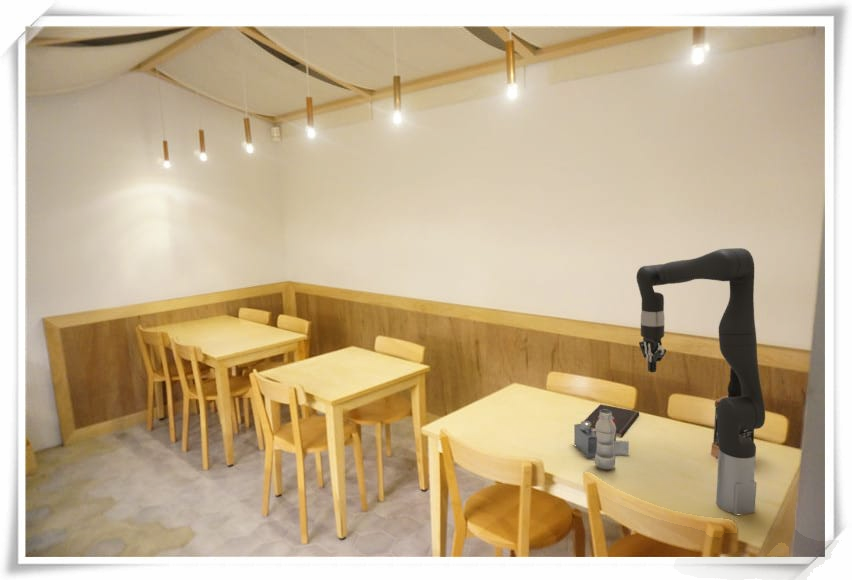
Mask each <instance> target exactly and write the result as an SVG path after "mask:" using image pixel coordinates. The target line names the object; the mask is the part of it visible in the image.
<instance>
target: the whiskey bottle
mask: <svg viewBox="0 0 852 580" xmlns="http://www.w3.org/2000/svg"><path fill="white" fill-rule="evenodd" d="M729 371H730V372H729V373H730V374H729V382H728V385H727V394H726V395H724V396H721V397H719V398H716V399H714V407H715V408H714V409H715V411H714V426H713V441H712V443H711V447H710V448H711V449H710V455H711V456H713V457H715V458H717V459H718V455H719V441H718V435H717V407H718V403H719V401H720V400H721V399H723V398H728V397H741V396H742V391H741V385H740V381H739V378H738V376H737V375H736V373H735V372H734V370H733V369H732V367H731V366H730V370H729ZM739 436H743V437H745V438H748V439H750V440H751V441H753V442H754V440H755V439H754V438H755V429H750V430H739ZM754 443H755V442H754Z"/></svg>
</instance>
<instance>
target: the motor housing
mask: <svg viewBox="0 0 852 580" xmlns="http://www.w3.org/2000/svg"><path fill="white" fill-rule="evenodd" d="M573 440H574V444H575V445H576V446H575V445H574V446H575V447H576V448H577V449H578V450H579V451H580V452H581V453H582V455H584V457H585V458H586V457H587V458H588V459H587V458H586V459H587V460H590V459H595V455H596V449H597V435H596V430H592V423H591V422H590V421H584V420H582V421H581V422H580V423H576V424H574V439H573ZM629 448H630V441H629V440H621V439H618V440H617V439H616V441H614V455H615V456H619V455H620V456H629V454H630V453H629V451H630V449H629Z"/></svg>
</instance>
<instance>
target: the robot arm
mask: <svg viewBox="0 0 852 580" xmlns="http://www.w3.org/2000/svg"><path fill="white" fill-rule="evenodd" d="M754 261H755V260H754V257H753V255H752V253H751V252H750V251H749V250H748V249H746V248H739V247H735V248H734V247H733V248H720V249H716V250H714V251H711V252H709V253H706V254H704V255H701V256H699V257H695V258H691V259H683V260H674V261H670V262H666V263H662V264H661V263H660V264H650V265H643V266H641V267H640V268H639V269H638V270H637V272H636V283H637V285H638V289H639V294H640V297H641V311H640V336H641V337H642V341H639V342H638V344H639V348H640V350H641V353H642V356H643V358H645V359H646V361H647V371H648V372H649V373H655V372H657V362H661V360H663V357H664V356H665V354H666V353H667V349H666V348H664V349H663V347H662V346H663V344H662V343H663V342H662V338H664V336H665V311H664V309H665V299H664V297H665V296H664V295H663V294H662V293H661V292H657V291H656V292H655V289H654V286H655V287H656V286H663V285H670V284H671V285H674V284H681V283H687V282H691V281H694V280H708V281H709V280H710V281H718V282H729V299H728V303H727V304H726V308H725V310H724V312H723V315H722V317H721V319H720V321H719V324H718V340H719V342H718V343H719V350H720V352H721V355H722V356H723V358H724V360H725V361H726V362H727V364H728V365H729V367H730V368H731V367H732V369H733V370H734V372H735V373H736V375H737V376H738V378H739V381H740V385H741V391H742V396H741V397H728V398H723V399H721V400H720V401H719V403H718V407H717V435H718V441H719V455H718V458H717V475H716V477H717V479H716V499H715V501H716V505H717V506H718V507H719V508H720V509H721V510H723V511H725V512H728V513H730V512H731V514H733V513H734V514H735V515H734V514H733V515H734V516H738V515H737V514H742V515H745V514H744V513H748V514H751V513H750V512H754V513H755V512H756V501H757V500H756V496H757V484H758V483H757V481H755V469H756V467H755V466H756V457H757V456H756V455H757V445H756V443H755V442H753V441H751V440H750V439H748V438H745V437H743V436H739V430H750V429H754V430H757V429H761V428H762V427H763V426H764V424H765V421H766V409H765V407H766V406H765V402H764V396H763V391H762V384H761V380H760V373H759V372H760V371H759V361H758V345H757V343H758V341H757V330H756V323H755V322H756V321H755V303H754V296H755V295H754V294H755V293H754V292H755V291H754V290H755V288H754V287H755V262H754Z"/></svg>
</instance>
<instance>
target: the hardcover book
mask: <svg viewBox="0 0 852 580" xmlns="http://www.w3.org/2000/svg"><path fill="white" fill-rule="evenodd" d="M601 410H609V411H611V414H612V416H613V417H614V419H615V421H616V437H619V438H623V437H624V436H625V435H626V433H627V432H628V430H629V429H630V428H631V427H632V426H633V424H634V423H635V422H636V420H637V419H638V418H639V416H640V412H639V411H638V410H633V409H628V408H622V407H617V406H612V405H607V404H601V403H600V404H599V405H598V406H597V408H595V409H594V410H593V411H592V413H590V414H589V415H588V416H587V417H586V418H585V419H584V420H583V421H590V422H591V423H592V430H596V428H595V425H596V420H597V418H598V416H599V415H600V411H601Z"/></svg>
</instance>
